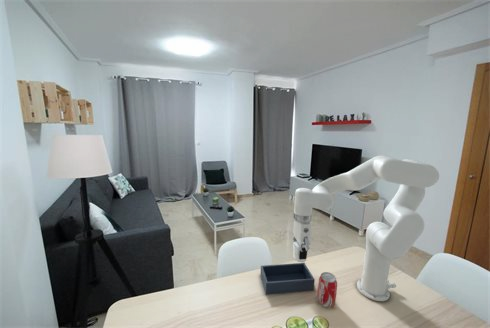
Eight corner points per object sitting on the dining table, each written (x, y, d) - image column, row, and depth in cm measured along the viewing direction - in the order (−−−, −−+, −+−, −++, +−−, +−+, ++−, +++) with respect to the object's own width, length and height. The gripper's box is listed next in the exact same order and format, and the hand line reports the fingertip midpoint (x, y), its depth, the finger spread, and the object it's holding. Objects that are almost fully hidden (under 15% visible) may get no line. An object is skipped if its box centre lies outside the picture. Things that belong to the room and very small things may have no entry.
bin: (303, 272, 109) (304, 262, 108) (313, 290, 98) (314, 279, 97) (260, 276, 106) (260, 265, 105) (265, 294, 95) (266, 283, 94)
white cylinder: (308, 264, 96) (309, 249, 95) (292, 261, 98) (292, 247, 96) (307, 254, 103) (308, 241, 101) (292, 252, 104) (292, 239, 103)
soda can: (313, 298, 93) (315, 273, 91) (326, 293, 96) (328, 269, 94) (325, 311, 87) (328, 285, 85) (338, 306, 90) (341, 280, 87)
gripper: (319, 225, 88) (315, 265, 92) (303, 208, 105) (300, 242, 109) (301, 226, 87) (298, 266, 91) (287, 208, 104) (285, 243, 108)
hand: (299, 253), depth 100 cm, fingers closed on white cylinder, 6 cm apart
